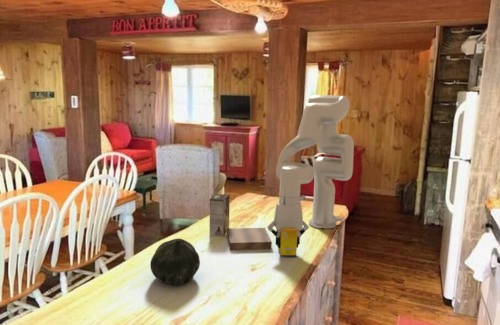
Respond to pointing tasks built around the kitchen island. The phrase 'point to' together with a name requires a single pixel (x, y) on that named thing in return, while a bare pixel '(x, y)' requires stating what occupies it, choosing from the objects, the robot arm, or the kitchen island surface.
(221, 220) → the coffee box
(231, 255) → the kitchen island surface
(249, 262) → the kitchen island surface
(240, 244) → the base
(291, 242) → the supplement box
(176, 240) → the squash
